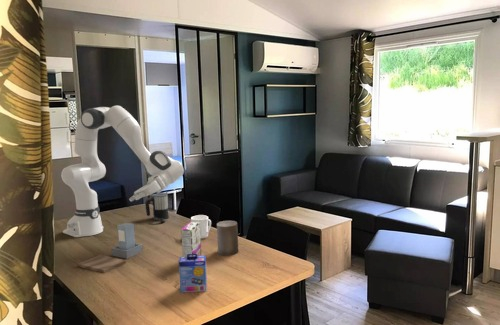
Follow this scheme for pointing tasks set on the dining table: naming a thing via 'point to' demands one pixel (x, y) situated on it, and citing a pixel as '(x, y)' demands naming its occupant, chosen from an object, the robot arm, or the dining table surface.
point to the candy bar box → (191, 239)
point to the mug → (202, 224)
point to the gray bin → (127, 251)
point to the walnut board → (102, 263)
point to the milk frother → (158, 206)
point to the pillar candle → (227, 237)
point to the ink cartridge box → (192, 273)
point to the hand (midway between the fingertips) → (132, 199)
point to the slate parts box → (126, 236)
